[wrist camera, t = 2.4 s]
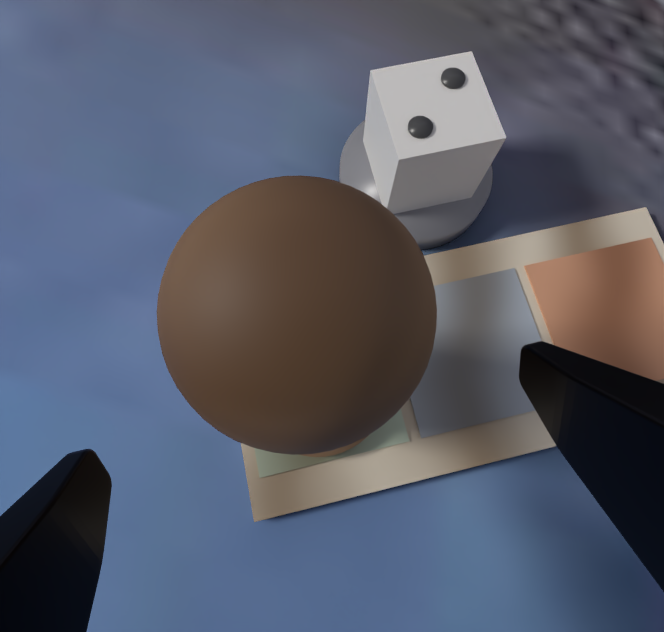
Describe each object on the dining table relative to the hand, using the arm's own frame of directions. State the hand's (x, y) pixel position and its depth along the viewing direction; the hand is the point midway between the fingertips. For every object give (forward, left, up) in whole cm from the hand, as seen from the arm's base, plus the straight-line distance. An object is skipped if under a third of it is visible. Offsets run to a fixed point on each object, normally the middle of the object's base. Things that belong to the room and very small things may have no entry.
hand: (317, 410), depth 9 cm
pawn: (+1, -1, -8) cm, 9 cm away
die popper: (+2, -12, -9) cm, 15 cm away
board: (-4, -6, -9) cm, 11 cm away
